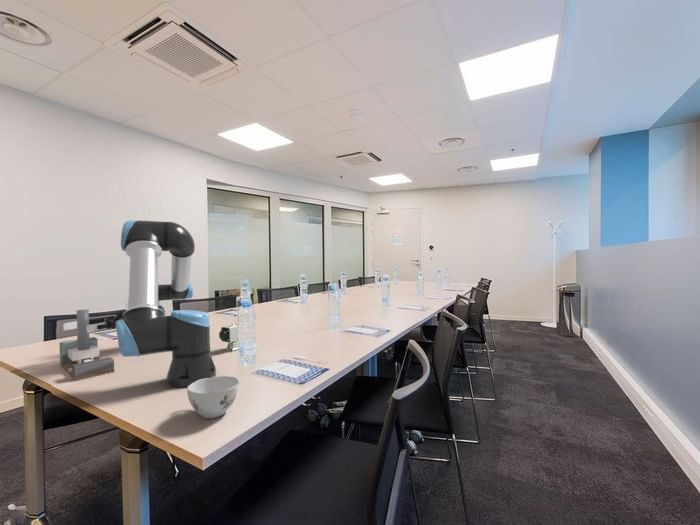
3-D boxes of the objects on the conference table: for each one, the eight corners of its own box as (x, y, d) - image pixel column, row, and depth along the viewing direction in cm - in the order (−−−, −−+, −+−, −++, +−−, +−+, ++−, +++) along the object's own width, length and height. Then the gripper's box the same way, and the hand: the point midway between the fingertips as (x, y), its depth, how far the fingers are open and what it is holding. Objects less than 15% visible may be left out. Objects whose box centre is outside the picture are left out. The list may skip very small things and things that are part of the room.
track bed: (114, 371, 119) (113, 346, 119) (75, 380, 110) (74, 353, 110) (94, 358, 136) (94, 336, 136) (60, 365, 128) (59, 341, 128)
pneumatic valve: (247, 347, 150) (246, 321, 150) (226, 354, 140) (225, 326, 140) (238, 346, 153) (238, 320, 152) (217, 352, 142) (217, 325, 142)
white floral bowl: (249, 409, 87) (248, 379, 87) (207, 430, 76) (206, 396, 76) (214, 397, 95) (214, 370, 95) (172, 415, 85) (171, 384, 85)
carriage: (99, 360, 126) (98, 309, 126) (72, 365, 120) (71, 312, 120) (94, 356, 131) (92, 307, 131) (68, 361, 125) (66, 310, 125)
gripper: (150, 328, 139) (97, 340, 119) (110, 325, 147) (54, 335, 127) (150, 310, 139) (97, 319, 119) (109, 308, 147) (54, 316, 127)
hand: (74, 328), depth 123 cm, fingers open, 13 cm apart
